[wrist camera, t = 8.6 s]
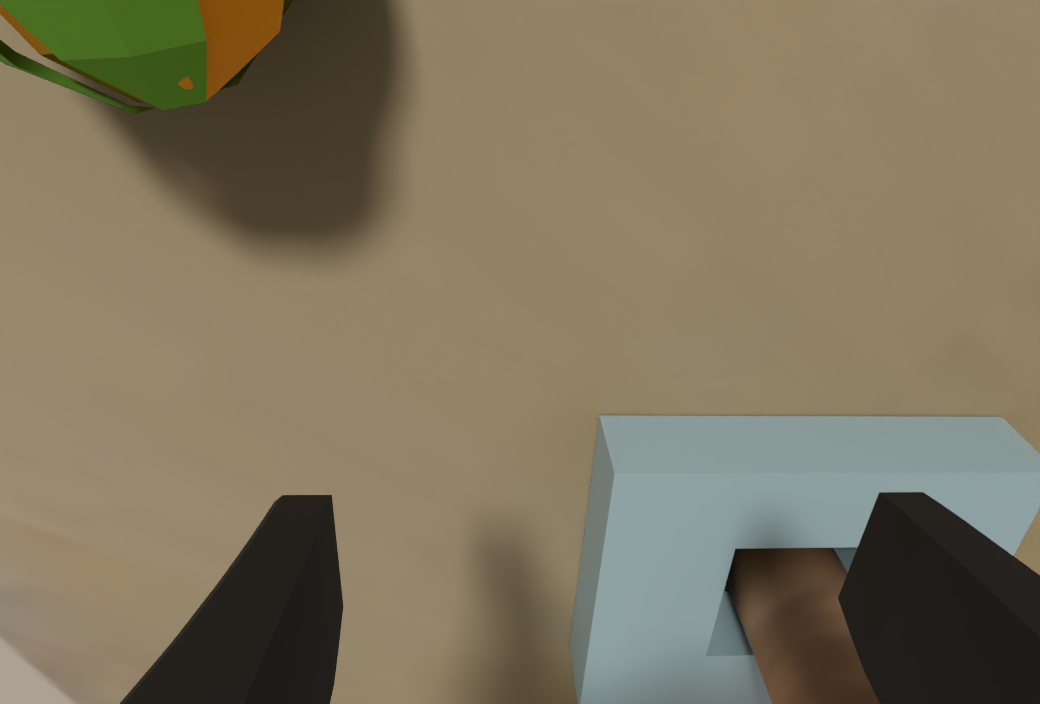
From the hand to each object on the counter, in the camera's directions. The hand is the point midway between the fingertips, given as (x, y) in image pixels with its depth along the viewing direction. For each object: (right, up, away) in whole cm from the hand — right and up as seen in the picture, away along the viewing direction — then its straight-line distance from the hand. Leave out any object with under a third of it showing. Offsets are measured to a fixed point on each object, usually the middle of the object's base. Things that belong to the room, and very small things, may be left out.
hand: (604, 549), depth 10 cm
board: (+7, -4, +14) cm, 16 cm away
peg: (+7, -3, +14) cm, 16 cm away
